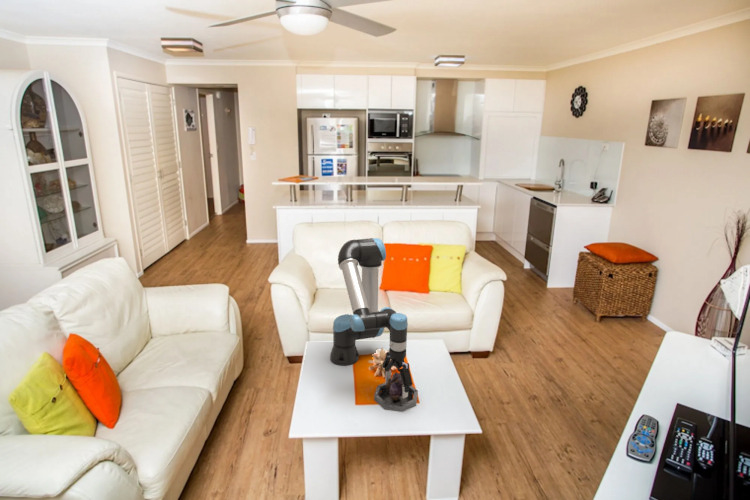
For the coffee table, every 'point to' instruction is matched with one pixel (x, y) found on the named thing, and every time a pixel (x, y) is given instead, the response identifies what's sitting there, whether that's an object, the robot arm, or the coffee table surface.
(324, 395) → the coffee table surface
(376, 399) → the collar
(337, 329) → the robot arm
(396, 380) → the rock
